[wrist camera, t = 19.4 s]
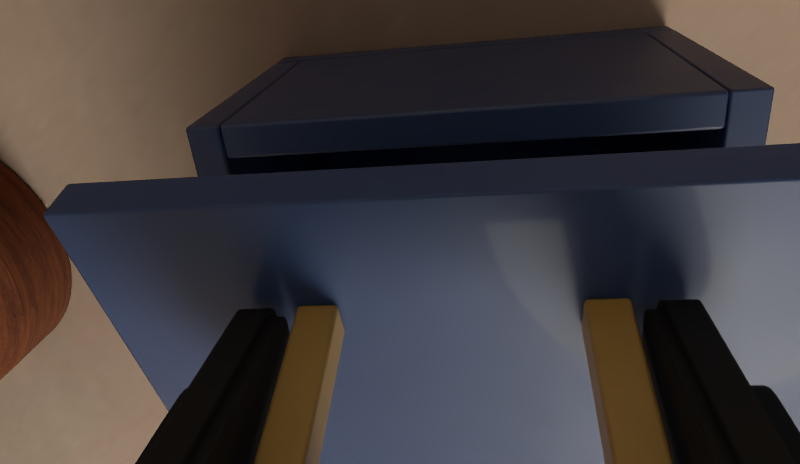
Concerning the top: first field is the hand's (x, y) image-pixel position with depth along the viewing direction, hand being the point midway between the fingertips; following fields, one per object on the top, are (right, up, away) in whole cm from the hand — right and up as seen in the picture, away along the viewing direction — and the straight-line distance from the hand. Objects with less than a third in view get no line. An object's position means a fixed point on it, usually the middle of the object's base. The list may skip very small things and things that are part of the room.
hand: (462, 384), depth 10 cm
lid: (+1, -3, +4) cm, 5 cm away
